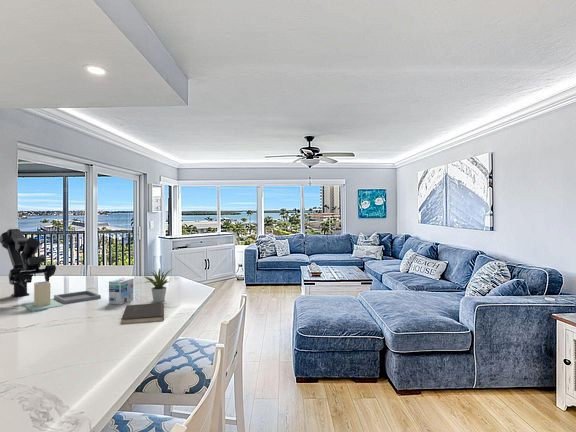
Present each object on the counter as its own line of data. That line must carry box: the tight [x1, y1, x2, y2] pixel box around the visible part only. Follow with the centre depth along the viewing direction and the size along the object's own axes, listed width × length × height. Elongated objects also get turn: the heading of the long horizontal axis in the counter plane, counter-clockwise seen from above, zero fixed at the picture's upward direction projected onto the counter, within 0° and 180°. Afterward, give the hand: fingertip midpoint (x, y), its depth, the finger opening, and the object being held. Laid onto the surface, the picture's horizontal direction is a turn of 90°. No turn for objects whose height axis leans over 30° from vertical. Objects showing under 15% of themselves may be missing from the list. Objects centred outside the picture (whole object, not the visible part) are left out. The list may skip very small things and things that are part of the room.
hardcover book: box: [120, 302, 165, 324], centre depth 165 cm, size 16×23×2 cm
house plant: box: [144, 268, 175, 303], centre depth 192 cm, size 14×14×16 cm
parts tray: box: [53, 290, 102, 305], centre depth 191 cm, size 16×16×2 cm
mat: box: [21, 298, 63, 313], centre depth 177 cm, size 16×12×1 cm
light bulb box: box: [108, 277, 135, 305], centre depth 187 cm, size 11×7×11 cm, turn 168°
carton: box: [33, 280, 51, 306], centre depth 177 cm, size 5×5×10 cm
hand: (37, 286), depth 183 cm, fingers open, 9 cm apart
